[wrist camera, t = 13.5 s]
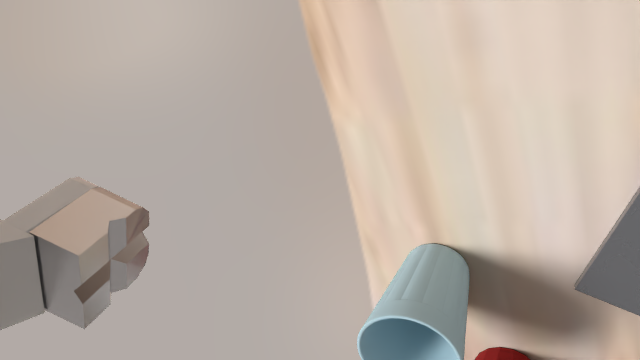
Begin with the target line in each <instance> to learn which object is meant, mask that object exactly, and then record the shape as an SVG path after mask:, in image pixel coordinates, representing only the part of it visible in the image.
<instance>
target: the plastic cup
mask: <svg viewBox="0 0 640 360" xmlns="http://www.w3.org/2000/svg"><path fill="white" fill-rule="evenodd" d="M475 360H530V359H529V358H528V357H527V356H526V355H524V354H522V353H520V352H518V351H515V350H513V349H508V348H502V347H497V348H488V349H486V350H484V351H482V352H481V353H479V354H478V356H477V357H476V359H475Z"/></svg>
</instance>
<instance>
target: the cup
mask: <svg viewBox="0 0 640 360" xmlns="http://www.w3.org/2000/svg"><path fill="white" fill-rule="evenodd" d="M468 294H469V268H468V265H467V263H466V262H465V260H464V259H463V257H462V256H461V255H460V254H458V253H457V252H456V251H454V250H453V249H451V248H449V247H447V246H444V245H440V244H424V245H421V246H418V247H417V248H415V249H414V250H412V251H411V252H410V253H409V255H408V256H407V258H406V259H405V261H404V262H403V264H402V266H401V267H400V269H399V270H398V272H397V273H396V275H395V277H394V278H393V280H392V281H391V283H390V285H389V286H388V288H387V289H386V291H385V292H384V294H383V296H382V297H381V299H380V300H379V302H378V304H377V305H376V307H375V308H374V310H373V311H372V313H371V314H370V316H369V318H368V319H367V321H366V323H365V324H364V325H363V327H362V329H361V330H360V332H359V335H358V339H357V347H358V352H359V355H360V357H361V359H362V360H464V350H465V333H466V320H467V307H468Z"/></svg>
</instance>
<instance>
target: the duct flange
mask: <svg viewBox="0 0 640 360" xmlns="http://www.w3.org/2000/svg"><path fill="white" fill-rule="evenodd" d="M575 290H577V291H580V292H582V293H585V294H587V295H590V296H592V297H595V298H597V299H600V300H602V301H605V302H607V303H609V304H612V305H614V306H617V307H619V308H622V309H624V310H627V311H629V312H632V313H634V314H637V315H639V316H640V187H639V189H638V190H637V192H636V193H635V195H634V196H633V198H632V199H631V201H630V202H629V204H628V205H627V207H626V208H625V210H624V211H623V213H622V214H621V216H620V217H619V219H618V220H617V222H616V223H615V225H614V226H613V228H612V229H611V231H610V232H609V234H608V235H607V237H606V238H605V240H604V241H603V243H602V244H601V246H600V247H599V249H598V250H597V252H596V253H595V255H594V256H593V258H592V259H591V261H590V262H589V264H588V265H587V267H586V268H585V270H584V271H583V273H582V274H581V276H580V277H579V279H578V280H577V282H576V283H575Z"/></svg>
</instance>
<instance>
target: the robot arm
mask: <svg viewBox="0 0 640 360" xmlns="http://www.w3.org/2000/svg"><path fill="white" fill-rule="evenodd" d="M148 226H149V211H147V210H146V209H145V208H143V207H141V206H139V205H137V204H135V203H133V202H131V201H128V200H126V199H124V198H122V197H120V196H118V195H116V194H114V193H112V192H110V191H108V190H106V189H104V188H102V187H99V186H96V185H95V184H93V183H90V182H88V181H86V180H84V179H82V178H80V177H76V178H69V179H68V180H66V181H64V182H63V183H62V184H60V185H58V186H57V187H55V188H54V189H52V190H50V191H49V192H47V193H46V194H44V195H43V196H41V197H39V198H38V199H36V200H35V201H33V202H32V203H30V204H28V205H27V206H25V207H24V208H22V209H21V210H19V211H18V212H16V213H14V214H13V215H11V216H10V217H8V218H7V219H5V220H1V219H0V330H2V329H4V328H7V327H9V326H12V325H15V324H17V323H19V322H22V321H24V320H27V319H30V318H32V317H35V316H37V315H40V314H43V313H44V312H45V310H46V311H48V312H51V313H53V314H54V315H57V316H58V317H61V318H63V319H65V320H67V321H69V322H71V323H73V324H75V325H78V326H79V327H81V328H84V329H85V328H86V327H87V326H88V325H89V324H90V323H91V322H92V321H93V320H95V319H96V318H97V317H98V316H99V315H100V314H101V313H102V312H103V311H104V310H105V309H106V308H107V307H108V306H109V305H110V302H111V293H112V292H116V291H119V290H122V289H126V288H127V287H129V285H130V284H131V283H132V282H133V281H134V280H135V279H136V278H137V277H138V276H139V274H140V272H141V271H142V269H143V267H144V266H145V263H146V260H147V256H148V252H149V243H148V241H147V239H146V237H145V236H144V234H143V232H142V231H144V230H145V229H146V228H147V227H148Z"/></svg>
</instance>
